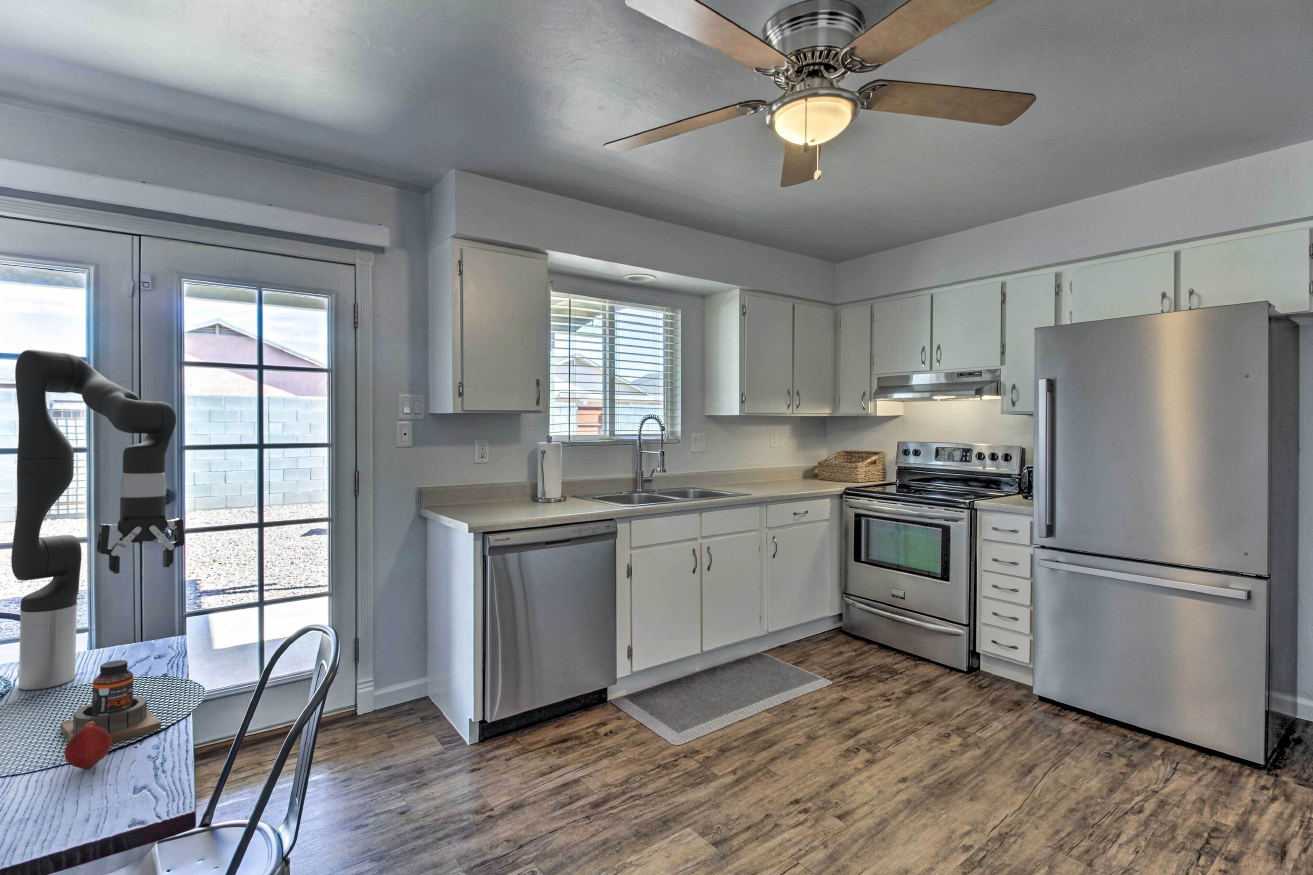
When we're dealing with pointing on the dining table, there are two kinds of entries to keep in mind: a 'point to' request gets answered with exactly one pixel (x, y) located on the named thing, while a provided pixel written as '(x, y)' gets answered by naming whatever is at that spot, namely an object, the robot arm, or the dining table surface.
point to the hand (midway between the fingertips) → (141, 569)
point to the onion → (88, 746)
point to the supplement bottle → (112, 689)
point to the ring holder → (115, 721)
